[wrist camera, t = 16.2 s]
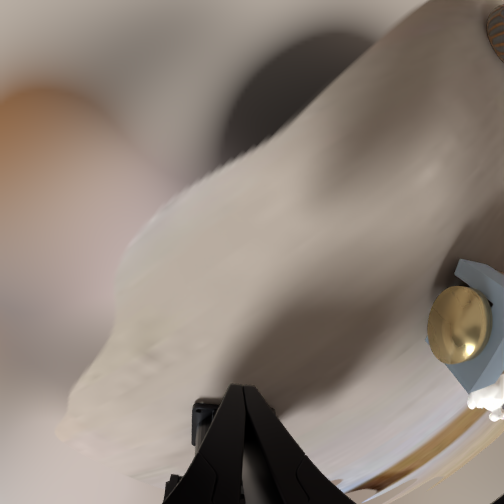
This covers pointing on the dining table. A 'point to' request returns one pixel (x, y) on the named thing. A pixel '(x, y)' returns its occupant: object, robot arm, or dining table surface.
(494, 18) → the vase
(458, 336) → the shaft
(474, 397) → the rabbit figurine
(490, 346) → the spacer
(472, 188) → the dining table surface
